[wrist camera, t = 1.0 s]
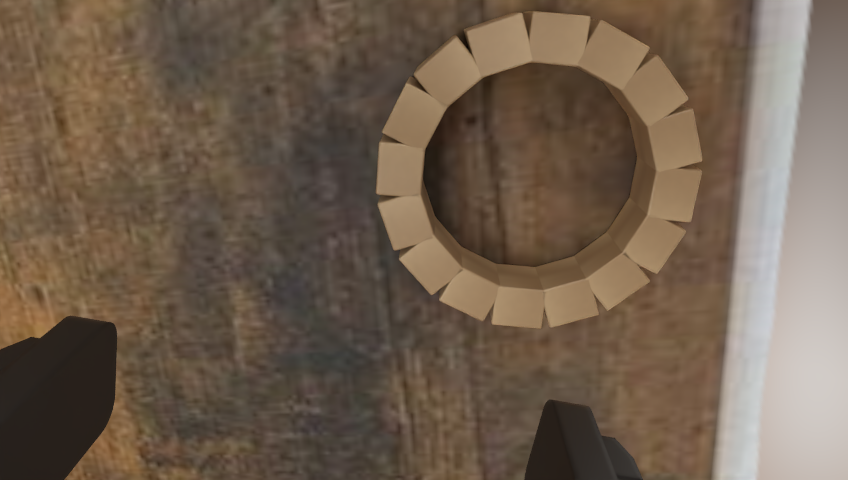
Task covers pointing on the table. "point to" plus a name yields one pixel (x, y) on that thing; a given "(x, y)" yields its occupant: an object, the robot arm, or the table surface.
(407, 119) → the ring
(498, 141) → the table surface
